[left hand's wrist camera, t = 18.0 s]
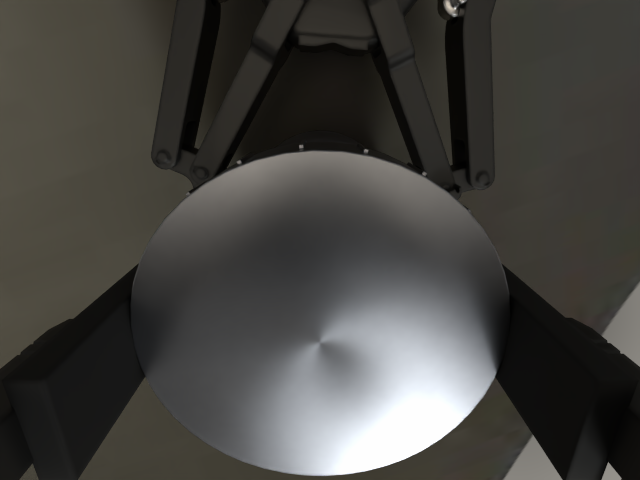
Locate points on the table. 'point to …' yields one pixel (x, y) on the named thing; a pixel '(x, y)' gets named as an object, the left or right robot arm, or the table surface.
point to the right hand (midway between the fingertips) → (315, 296)
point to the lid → (320, 310)
